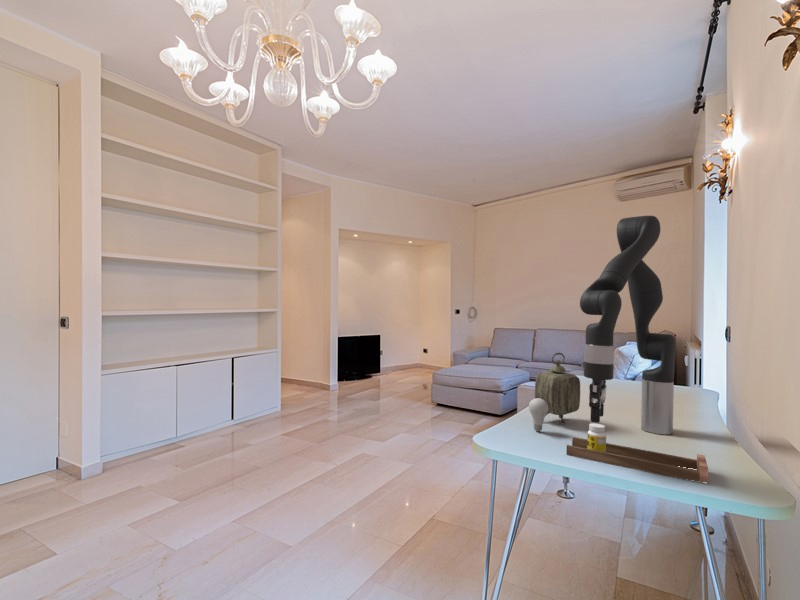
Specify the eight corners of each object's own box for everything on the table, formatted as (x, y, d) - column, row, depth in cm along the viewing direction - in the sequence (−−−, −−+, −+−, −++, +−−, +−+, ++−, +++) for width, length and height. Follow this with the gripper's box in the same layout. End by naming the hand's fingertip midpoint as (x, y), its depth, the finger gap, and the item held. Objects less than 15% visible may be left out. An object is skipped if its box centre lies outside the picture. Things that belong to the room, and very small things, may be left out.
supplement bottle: (583, 452, 116) (584, 422, 116) (599, 452, 116) (600, 422, 116) (593, 458, 111) (593, 427, 111) (609, 458, 112) (610, 427, 112)
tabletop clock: (560, 416, 154) (561, 350, 154) (581, 423, 146) (583, 353, 146) (533, 421, 146) (535, 352, 146) (555, 428, 138) (556, 355, 139)
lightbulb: (549, 435, 130) (549, 401, 131) (529, 433, 132) (530, 399, 132) (546, 429, 136) (546, 397, 137) (527, 428, 138) (528, 395, 138)
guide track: (572, 445, 122) (573, 431, 122) (704, 470, 104) (704, 455, 105) (566, 454, 113) (566, 440, 113) (707, 484, 96) (708, 467, 96)
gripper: (611, 365, 106) (609, 427, 106) (616, 360, 118) (614, 416, 118) (580, 362, 110) (578, 422, 110) (587, 357, 122) (586, 411, 122)
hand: (597, 419), depth 114 cm, fingers open, 8 cm apart
